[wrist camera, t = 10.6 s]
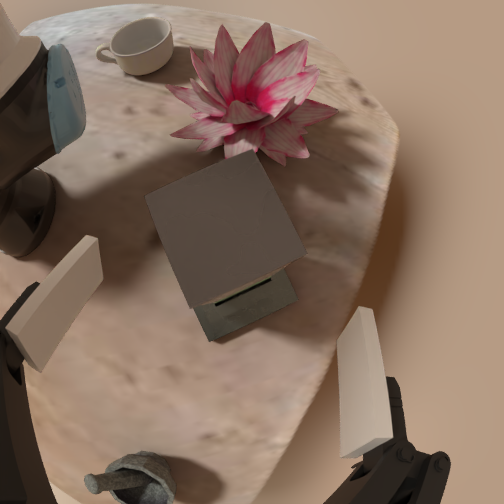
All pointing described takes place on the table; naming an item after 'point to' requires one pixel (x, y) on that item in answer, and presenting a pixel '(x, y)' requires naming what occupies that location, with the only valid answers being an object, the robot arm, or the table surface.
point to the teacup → (140, 46)
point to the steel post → (224, 229)
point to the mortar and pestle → (136, 480)
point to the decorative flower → (253, 97)
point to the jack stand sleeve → (246, 306)
